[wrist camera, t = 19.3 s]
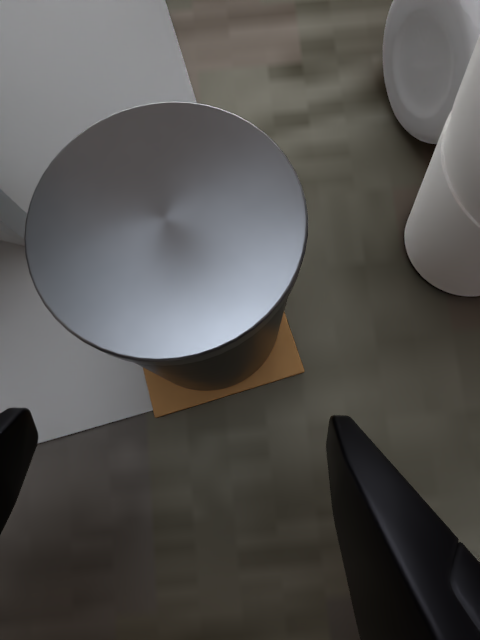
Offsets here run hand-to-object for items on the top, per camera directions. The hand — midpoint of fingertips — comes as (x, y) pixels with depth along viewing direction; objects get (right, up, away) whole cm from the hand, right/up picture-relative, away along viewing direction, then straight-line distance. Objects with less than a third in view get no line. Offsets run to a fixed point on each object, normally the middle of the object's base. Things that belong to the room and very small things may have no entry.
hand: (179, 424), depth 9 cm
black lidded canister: (0, +2, +7) cm, 7 cm away
